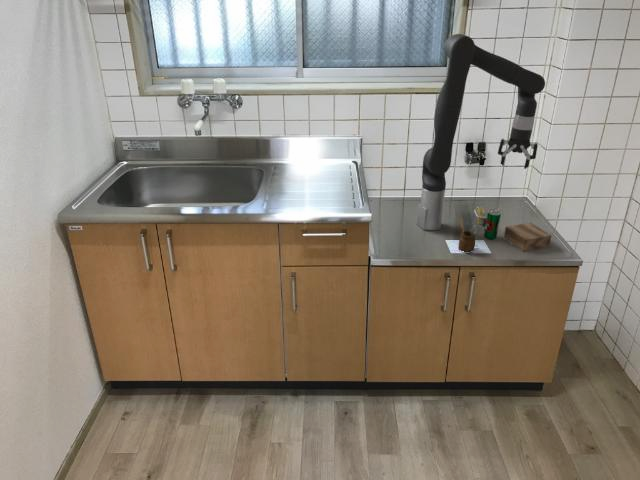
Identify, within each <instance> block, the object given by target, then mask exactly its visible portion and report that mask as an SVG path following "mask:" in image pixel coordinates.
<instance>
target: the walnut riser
mask: <svg viewBox="0 0 640 480" xmlns="http://www.w3.org/2000/svg"><path fill="white" fill-rule="evenodd" d="M504 228H505V229H504V234H503V239H504V238H505V239H504V240H505V241H508V242H509V243H510V244H511V243H512V245H513V246H514V247H516V248H517V249H518V250H520V252H521V251H522V252H527V251H533V250H534V251H535V250H540V249H545V248H549V247H550V243H551V238H552V235H551V234H550V233H548V232H546V231H545V230H544V229H542V228H541V227H539V226H537V225H535V224H534V223H532V222H528V223H526V222H525V223H522V224H514V225H508V226H505V227H504Z"/></svg>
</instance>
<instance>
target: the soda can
mask: <svg viewBox="0 0 640 480" xmlns="http://www.w3.org/2000/svg"><path fill="white" fill-rule="evenodd" d="M486 215H487V218H485V226H484V230H483V237H484V238H485V239H486V240H490V241H493V240H496V239H497V237H498V234H499V233H498V232H499V226H500V221H501V215H502V213H501V210H500V209H499V208H496V207H495V208H494V207H492V208H489V209H488V211H487V213H486Z"/></svg>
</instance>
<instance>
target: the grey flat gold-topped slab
mask: <svg viewBox="0 0 640 480" xmlns="http://www.w3.org/2000/svg"><path fill="white" fill-rule="evenodd" d="M473 212H474V214H475V215H476V218H477V220H476V221H477V225H481V226H482V227H484V226H483V225H484V222H485V221H484V220H485V219H486V218H487V213H486V211H485V210H484V208H483V206H480V207H479V206H478V205H477V207H476V208H474V209H473Z"/></svg>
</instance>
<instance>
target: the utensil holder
mask: <svg viewBox="0 0 640 480" xmlns="http://www.w3.org/2000/svg"><path fill="white" fill-rule="evenodd" d="M460 226H461V230H462V231H461V234H460V237H459V240H458V250H459V251H460V250H461V251H464V252H471V251H473V250H474V251H475V246H476V232H475V231H477V230H478V227H477V225H474V224H473V225H472V226H471V228H470V230H465V229H464V227H465V225H464V219H463V218H462V219H461V220H460ZM474 227H475V231H474V230H473V229H474ZM461 251H460V252H461ZM474 251H473V252H474ZM464 252H463V253H464ZM471 253H472V252H471Z"/></svg>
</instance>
